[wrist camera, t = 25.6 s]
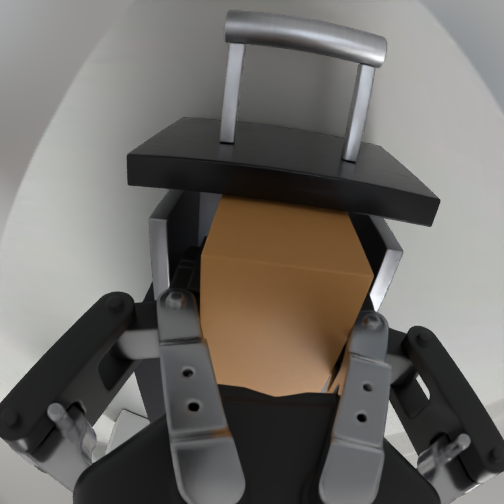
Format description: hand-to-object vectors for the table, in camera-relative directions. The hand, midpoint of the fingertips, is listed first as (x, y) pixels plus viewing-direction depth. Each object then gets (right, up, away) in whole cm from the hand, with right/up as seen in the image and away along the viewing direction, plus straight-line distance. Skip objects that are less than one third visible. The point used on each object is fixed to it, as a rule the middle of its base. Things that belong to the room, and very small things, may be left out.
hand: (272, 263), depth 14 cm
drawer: (0, +4, +5) cm, 7 cm away
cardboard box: (0, 0, +1) cm, 1 cm away
